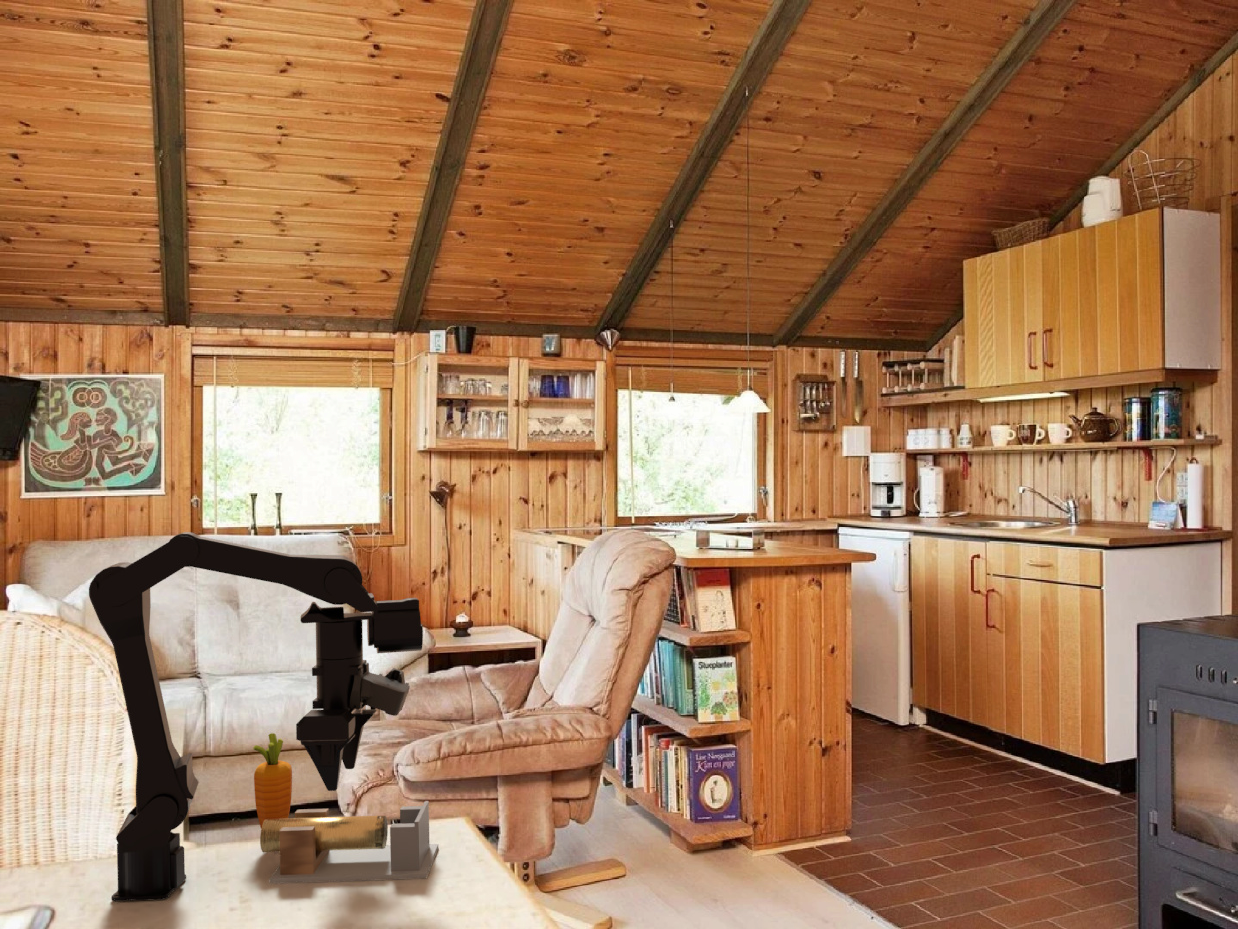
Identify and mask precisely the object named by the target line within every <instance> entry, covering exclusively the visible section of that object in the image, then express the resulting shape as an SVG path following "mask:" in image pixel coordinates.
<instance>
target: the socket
mask: <svg viewBox="0 0 1238 929" xmlns="http://www.w3.org/2000/svg"><path fill="white" fill-rule="evenodd" d="M429 806H430V804H429V800H425V801H424V802H423V804H422V805H408V806H407V805H406V806H403V805H402V806H401V807H400V808H399V823H392V824H391V825H390V827H389V833H390V834H389V835H390V836H389V840H390V841H389V842H390V843H389V845H390V849H391V871H420V868H421V866H422V864H423V861H424V859H425V856H426V854H427V852H428V849H429V847H430V845H429V844H430V810H429V809H430V807H429Z"/></svg>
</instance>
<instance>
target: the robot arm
mask: <svg viewBox="0 0 1238 929" xmlns="http://www.w3.org/2000/svg"><path fill="white" fill-rule="evenodd" d="M186 567H187V568H189V567H191V568H195V569H201V570H206V571H212V572H216V573H222V574H228V575H232V576H237V577H244V578H248V579H253V580H256V581H257V580H259V581H264V582H269V583H272V584H273V583H274V584H278V585H283V586H286V587H288V588H291V589H294V590H296V591H298V592H301V593H302V594H305V595H307V596H309V597H312V598H315V599H317V600H320V601H323V602H326V603H327V604H331V605H336V606H330V607H320V606H319V605H318V603H316V601H312V602H311V603H310V605H309V607H308V609H306V610H305V611H304V612H303V613H302V614H301V615H300V623H301V624H314V623H315V656H316V657H315V659H316V660H315V663H316V664H315V665H314V666H313V667H312V668H311V676H312V677H316V698H314V699H313V700H312V709H310V710H309V711H308V712H307V713H306V714H305V715H303V717H302V718H301V719H300V720H299V721H298V722H297V723H296V724H295V731H296V732H295V734H296V737H295V738H296V740H297V741H299V742H300V744H301V745H302V746H303V747H304V749H305V750H306V752H307V754H308V755H309V757H310V759H311V760H312V762H313V764H314V767H315V769H316V771H317V772H318V774H319V776H320V778H321V780H322V783H323V784H324V786H325V788H326V790H327V791H329V792H333V791H334V792H336V791H337V789H338V786H339V783H340V782H339V779H340V773H341V768H342V763H343V765H344V768H345V770H353V769H355V766H356V762H357V757H358V753H359V749H360V744H361V740H362V735H363V730H364V726H365V725H366V723H367V722H368V721H369V720H370V719H371V718H372V717H373V716H374V715H375V713H377V710H379V711H383V712H384V713H385V714H387V715H389V716H395V717H397V716H399V714H400V712H401V711H403V708H404V705H405V702H406V699H407V698H408V694H409V692H410V683H409V682H406V679H405V674H404V671H403V670H400V669H397V668H395V667H394V668H392V669H391V670H390V671H389V672H388V673H387V674H386V675H383V674H382V673H378V674H376V673H373V672H370V664H369V662H367V659H364V656H363V655H364V650H363V649H364V648H363V646H364V644H363V642H364V639H363V637H364V636H363V621H367V622H366V626H367V627H366V628H367V629H366V632H367V634H366V636H367V646H368V647H373V648H374V649H376V653H377V654H389V653H390V654H391V653H404V652H417V651H418V652H421V651H422V650H423V645H424V644H423V639H424V628H423V624H422V621H421V620H422V619H421V611H420V600H419V599H418V598H417V597H406V598H403V599H394V600H393V599H392V600H378V601H377V600H375V596H374V594H373V593H372V592H370V593H369V591H368V590H367V589H366V588H365V587H364V585H363V579H364V578H363V576H362V572H361V569H360V568H359V567H358V565H357V564H356V562H355V561H354V560H353V559H351V558H349V557H348V556H345V555H336V554H335V555H334V554H290V553H285V552H279V551H273V550H270V549H264V548H259V547H255V546H249V545H244V544H240V543H233V542H231V541H225V540H219V539H217V538H216V539H215V538H210V537H207V536H201V535H198V534H196V533H194V532H192V531H191V532H190V531H189V532H188V531H185V532H181V533H178V534H176V535H174V536H173V537H172V538H170V539H169V541H168V542H167V543H165V544H163V545H161V546H159V547H158V548H156V549H154V550H152V551H151V552H149V553H147V554H146V555H144V556H142V557H140V558H139V559H137V560H135V561H134V562H128V561H127V562H125V561H124V562H123V561H122V562H118V563H115V564H112V565H110V566H107V567H106V568H104V569H102V570H101V571H100V572H98V573H96V574H95V576H94V577H93V578H92V580H91V582H90V584H89V586H88V597H89V600H90V602H91V605H92V608H93V609H94V612H95V614H96V616H97V619H98V622H99V623H100V625H101V627H102V629H103V631H104V632H105V634H106V635H107V636H108V637H107V638H109V640H110V642H111V645H112V647H113V651H114V657H115V660H116V664H117V670H118V674H119V679H120V683H121V687H122V693H123V696H124V697H123V698H124V701H125V706H126V712H127V716H128V721H129V724H130V729H131V734H132V735H131V736H132V738H133V743H134V750H135V752H136V760H137V762H136V774H135V775H136V777H135V779H136V780H135V806H134V807H133V808H132V810H130V811H129V813H127V815H126V818H125V819H124V821H123V823H122V825H121V827H120V829H119V831H118V833H117V834H116V837H115V839H116V842H117V843H116V855H117V856H116V858H117V860H116V862H117V863H116V864H117V866H116V867H117V890H116V892H114V893H113V895H111V902H116V901H119V902H120V901H121V902H123V901H124V902H125V901H145V900H147V901H148V900H149V901H151V900H165V899H167V898H169V897H170V896H171V895H172V894H173V893H174V892H175V891H176V890H177V889H178V888H179V887H180V886H181V885H182V884H183V882H185V881H186V880H187V874H186V873H185V872H186V871H185V870H186V869H185V847H184V846H183V845H181V837H180V836H181V833H180V832H173V830H175V829H177V828H178V827H179V826H180V825H182V824H183V822H184V820H186V818H187V817H188V814H189V811H190V808H191V804H192V802H193V800H194V797H195V795H196V792H197V788H198V786H199V783H200V782H199V779H198V778H196V776H195V773H194V769H193V753H191V752H189V753H187V754H184V755H182V756H180V754H179V752H178V751H177V749H176V747H175V745H174V743H173V740H172V735H171V730H170V725H169V721H168V717H167V712H166V706H165V702H164V696H163V693H162V688H161V684H160V678H159V674H158V670H157V665H156V660H155V655H154V651H153V646H152V642H151V636H150V626H151V625H150V621H151V588H153V587H154V586H156V585H157V584H159V583H161V582H162V581H164V580H166V579H168V578H169V577H170V576H172V575H174V574H176V573H177V572H179V571H180V570H182V569H184V568H186ZM337 605H338V606H337ZM340 605H348V606H350V607H351V608H353V609H354V610H356V611H358V612H349V613H348V612H345V610H344V606H340ZM366 706H368V707H369V708H370V709H368V708H367V707H366Z"/></svg>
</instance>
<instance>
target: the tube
mask: <svg viewBox="0 0 1238 929" xmlns="http://www.w3.org/2000/svg"><path fill="white" fill-rule="evenodd" d="M309 826H315V848H316V851H329V850H361V849H384V848H385V846H387V841H388V828H389V827H388V818H387V815H384V814H383V815H382V814H381V815H358V816H329V817H317V818H295V817H292V818H291V817H290V818H289V817H288V818H284V819H265V820H264V822H263V825H262V828H261V827H260V829H261V830H260V834H259V835H260V836H259V838H260V842H259V844H260V850H261V852H262V853H280V835H279V831H280V830H281V829H282V827H309Z"/></svg>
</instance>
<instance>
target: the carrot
mask: <svg viewBox="0 0 1238 929" xmlns="http://www.w3.org/2000/svg"><path fill="white" fill-rule="evenodd" d="M267 737H268V740H269V743H268V748H266V750H265V748H264V747H263V746H260V745H257V744H256V745H254V746H253V751H256V752H259V753H260V754H261V755H262V756H263V757H264V760H265V761H264V762H262V763H260V764H259V765H257V767H256V768H255V771H254V774H253V786H254V787H253V788H254V799H255V800H254V801H255V809H256V813H257V818H258V819H257V820H258V823H259V827H260V829H261V828H262V825H263V822H264V820H265V819H284V818H289V817H290V812H291V811H290V810H291V803H292V802H291V801H292V792H293V767H292V765H291V764H290V763H289V762H287V761H283V760H279V757H280V754H281V751H282V749H283V745H284V740H283V739H282V738H277V735H276V734H275V733H273V732H270V733H269V734H268V736H267Z"/></svg>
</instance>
